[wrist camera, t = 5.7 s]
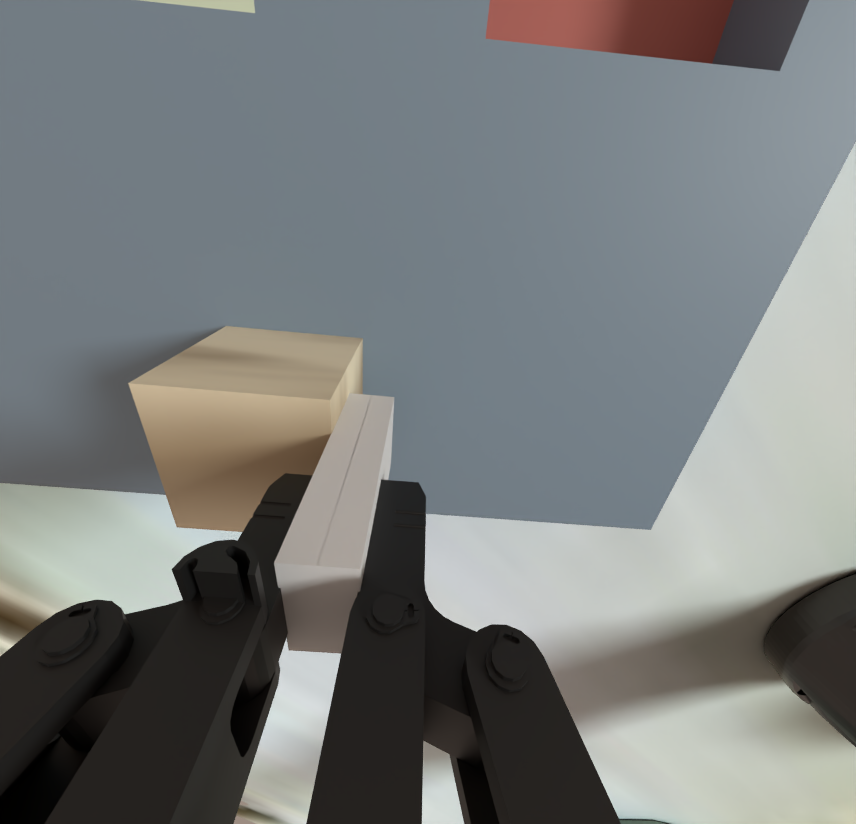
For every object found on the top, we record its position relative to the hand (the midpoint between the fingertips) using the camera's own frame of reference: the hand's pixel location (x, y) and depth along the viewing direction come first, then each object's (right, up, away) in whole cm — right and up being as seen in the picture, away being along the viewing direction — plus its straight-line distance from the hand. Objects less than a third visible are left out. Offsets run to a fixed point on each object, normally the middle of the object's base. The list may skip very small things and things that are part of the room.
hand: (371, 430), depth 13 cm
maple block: (-3, +1, +2) cm, 4 cm away
